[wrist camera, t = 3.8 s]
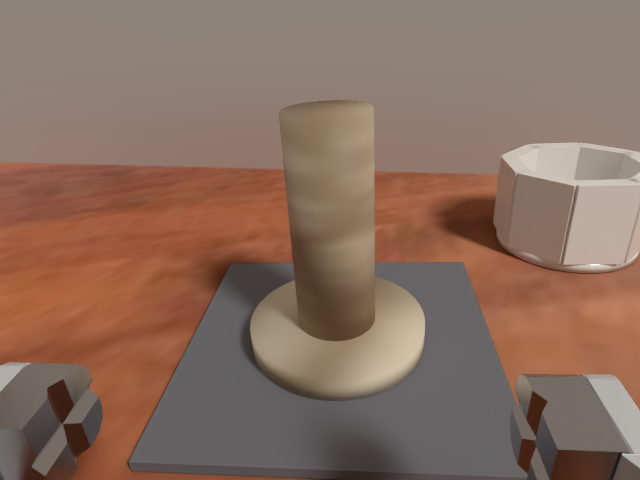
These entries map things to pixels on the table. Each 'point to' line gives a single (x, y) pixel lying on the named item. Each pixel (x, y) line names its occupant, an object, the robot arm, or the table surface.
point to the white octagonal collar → (570, 206)
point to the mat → (338, 416)
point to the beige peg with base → (334, 268)
